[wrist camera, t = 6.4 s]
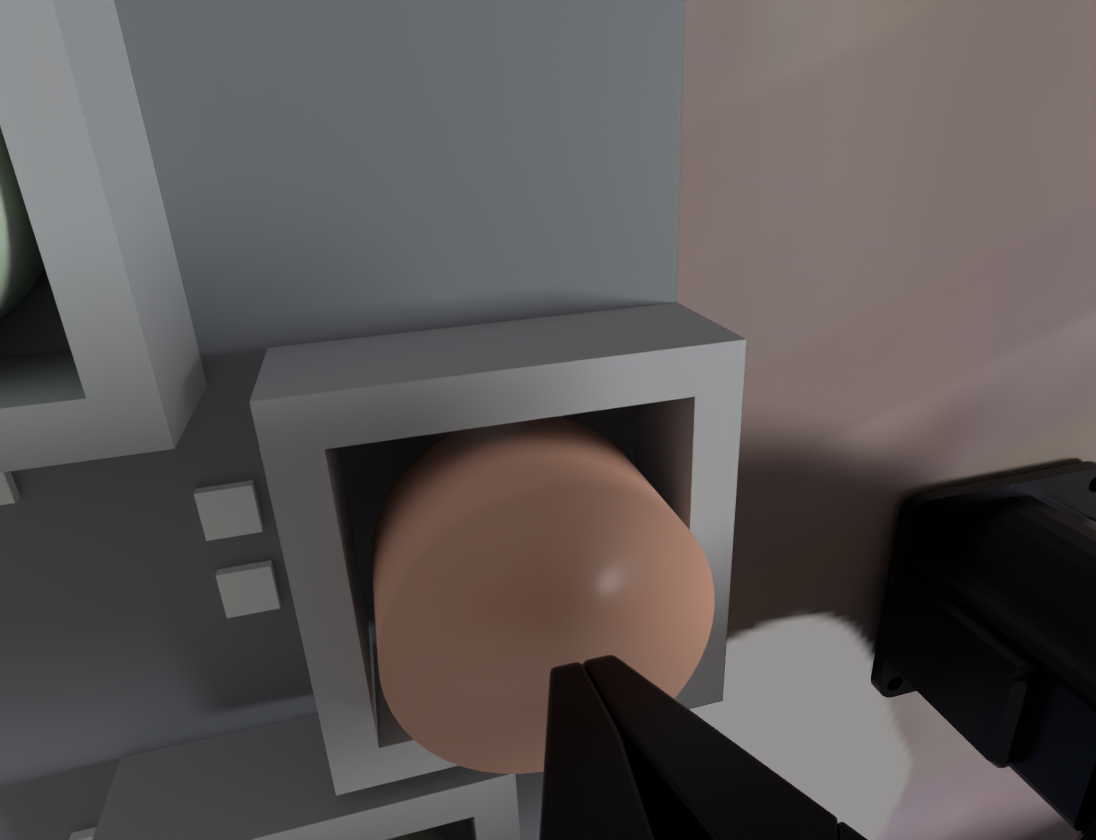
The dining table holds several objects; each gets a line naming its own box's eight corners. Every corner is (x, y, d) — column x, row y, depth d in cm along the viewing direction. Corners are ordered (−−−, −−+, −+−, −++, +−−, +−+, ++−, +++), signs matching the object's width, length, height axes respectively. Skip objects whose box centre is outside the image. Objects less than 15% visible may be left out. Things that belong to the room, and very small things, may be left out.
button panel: (637, -101, 12) (783, -213, 8) (633, 790, 20) (705, 954, 16) (-499, -125, 9) (-1193, -332, 5) (40, 949, 17) (-53, 1203, 13)
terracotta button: (650, 395, 12) (723, 459, 10) (647, 631, 14) (707, 730, 11) (350, 437, 11) (352, 519, 8) (391, 687, 13) (402, 808, 10)
